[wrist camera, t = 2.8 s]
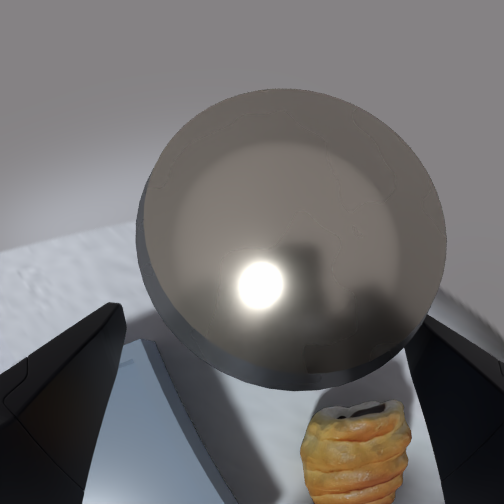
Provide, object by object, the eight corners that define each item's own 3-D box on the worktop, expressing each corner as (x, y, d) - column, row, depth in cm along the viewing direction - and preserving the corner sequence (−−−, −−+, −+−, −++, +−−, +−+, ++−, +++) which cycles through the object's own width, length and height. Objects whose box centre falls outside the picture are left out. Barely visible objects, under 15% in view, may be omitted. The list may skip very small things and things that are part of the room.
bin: (254, 527, 14) (257, 550, 11) (84, 557, 11) (70, 574, 8) (154, 341, 18) (140, 338, 15) (-1, 399, 15) (-27, 400, 12)
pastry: (392, 507, 15) (416, 527, 11) (299, 530, 14) (311, 558, 11) (394, 391, 18) (424, 396, 14) (294, 408, 17) (308, 421, 13)
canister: (314, 338, 18) (499, 283, 4) (229, 379, 17) (216, 462, 3) (274, 257, 20) (350, 63, 6) (190, 294, 19) (95, 134, 5)
